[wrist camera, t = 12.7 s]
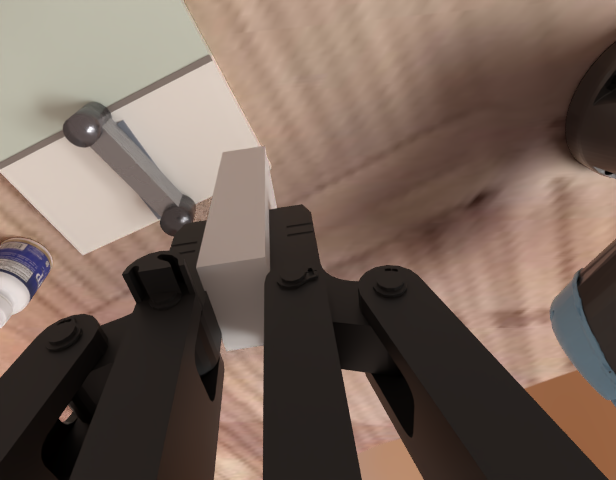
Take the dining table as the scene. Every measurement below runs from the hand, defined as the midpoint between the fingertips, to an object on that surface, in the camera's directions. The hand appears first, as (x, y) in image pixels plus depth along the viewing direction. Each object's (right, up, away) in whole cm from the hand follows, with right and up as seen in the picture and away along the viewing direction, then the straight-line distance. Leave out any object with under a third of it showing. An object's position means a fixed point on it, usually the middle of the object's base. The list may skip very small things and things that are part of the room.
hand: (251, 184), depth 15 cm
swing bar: (-13, +5, +22) cm, 26 cm away
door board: (-16, +9, +21) cm, 28 cm away
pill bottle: (-28, -4, +28) cm, 40 cm away
